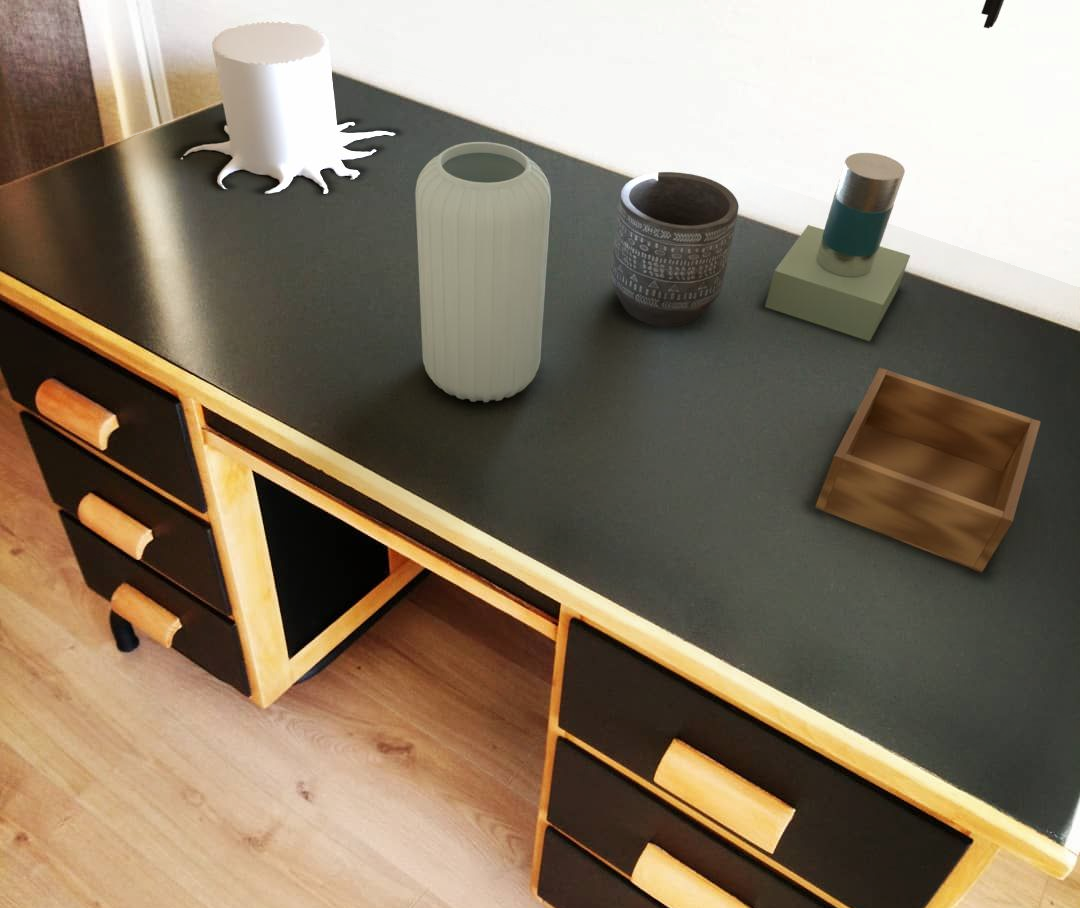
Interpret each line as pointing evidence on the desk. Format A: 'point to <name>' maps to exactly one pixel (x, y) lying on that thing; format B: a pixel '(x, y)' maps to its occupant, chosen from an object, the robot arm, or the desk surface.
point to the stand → (835, 288)
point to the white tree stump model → (280, 104)
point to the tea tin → (859, 213)
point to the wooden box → (931, 468)
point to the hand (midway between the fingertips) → (1041, 35)
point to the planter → (671, 246)
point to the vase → (482, 269)
